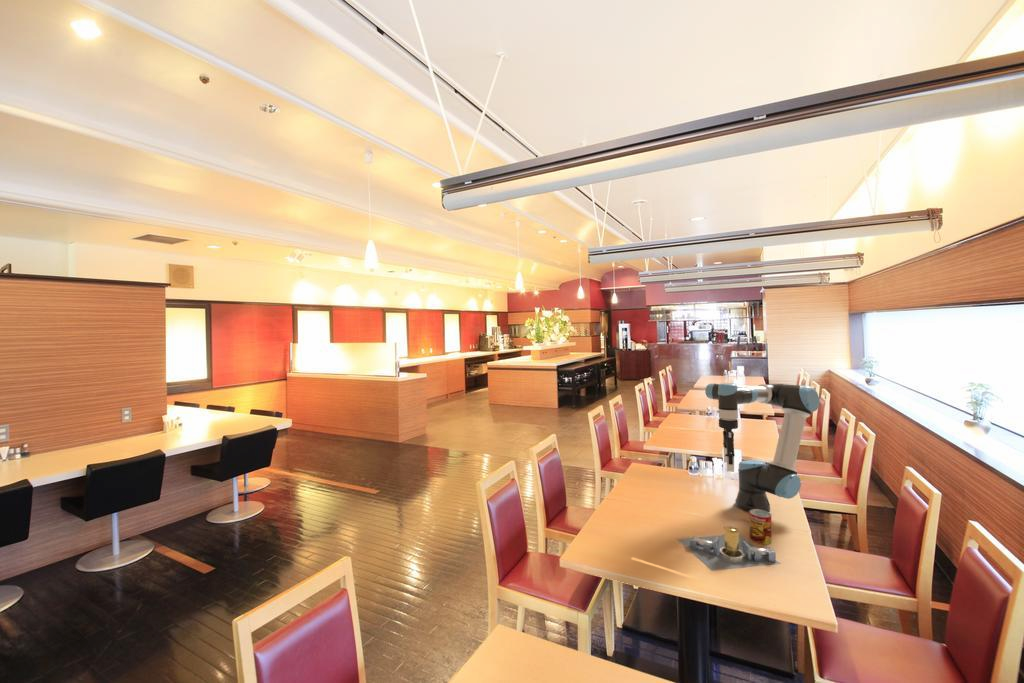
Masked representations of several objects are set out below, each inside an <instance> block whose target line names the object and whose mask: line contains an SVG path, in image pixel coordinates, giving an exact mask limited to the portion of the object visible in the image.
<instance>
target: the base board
mask: <svg viewBox="0 0 1024 683" xmlns="http://www.w3.org/2000/svg"><path fill="white" fill-rule="evenodd" d="M698 537H699V539H703V540H706V539H707V540H711V541H712V542H714V540H715V538H716V537H719V552H718V554H717V556H714V550H712V551H711V553H710V554H708V553H704V552H703V547H701V546H699V547H698V549H697V550H693V549H690V537H687V538H677V541H679V542H680V543H681V544H682V545H683V546H684V547H685V548H686V549H687V550H688V551H689V552H690V553H692V554H693V555H694V556H695V557H696V558H697V559H698V560H699V561H701V563H703V564H704V565H705V566H706V567H707V568H708V569H709V570H711V572H712V571H721V570H731V569H741V568H743V569H744V568H753V567H761V566H771V565H772V566H773V565H781V564H782V563H781V562H780V561H778V560H777V559H776V562H768V561H767V559H766V558H765V557H764V556H761V557H762V562H756V561H754V560H753V559H752V558H751V561H748V560H747V559H746V558H745V561H744V562H743V563H731V562H728V561H725V560H723V559H722V558H721V557H720V548H722V547H725V534H721V535H710V536H698ZM743 541H746V542H747V544H748V545H749V546H751V547H757V548H759V547H758V546H756V545H755V544H753V543H752V542H750V540H748V539H747V538H744V537H743V536H742V535H740V534H739V550H741V551H742V552H743ZM724 554H725V553H724ZM739 557H740V556H739Z"/></svg>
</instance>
